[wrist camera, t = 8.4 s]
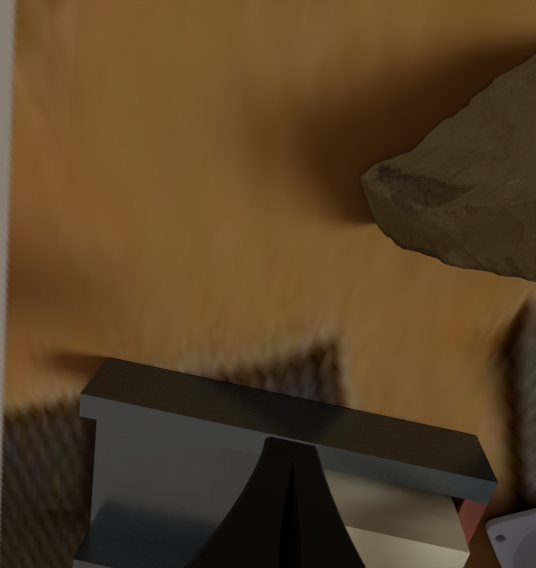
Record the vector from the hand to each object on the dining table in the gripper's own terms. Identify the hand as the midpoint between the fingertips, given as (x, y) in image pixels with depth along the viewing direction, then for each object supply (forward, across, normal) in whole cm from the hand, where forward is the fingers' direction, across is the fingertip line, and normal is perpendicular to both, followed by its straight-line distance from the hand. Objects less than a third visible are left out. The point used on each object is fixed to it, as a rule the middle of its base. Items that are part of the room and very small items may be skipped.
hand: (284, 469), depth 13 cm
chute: (+9, -1, +10) cm, 14 cm away
